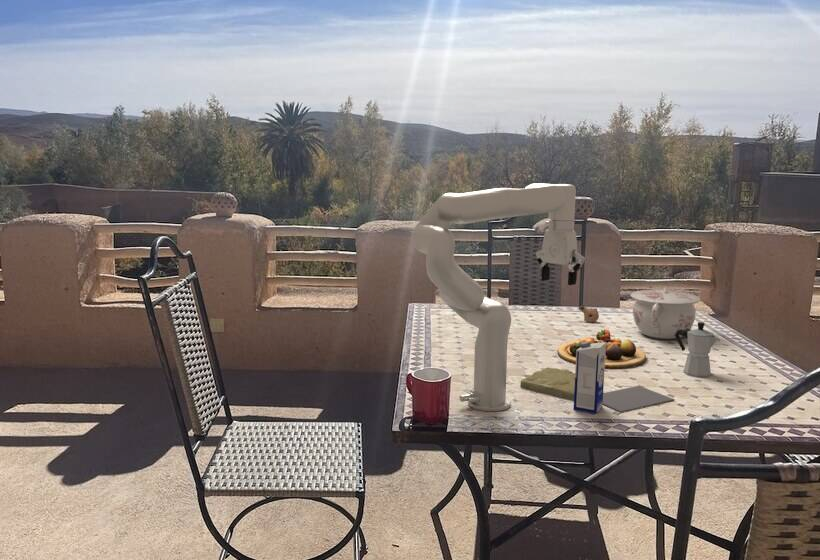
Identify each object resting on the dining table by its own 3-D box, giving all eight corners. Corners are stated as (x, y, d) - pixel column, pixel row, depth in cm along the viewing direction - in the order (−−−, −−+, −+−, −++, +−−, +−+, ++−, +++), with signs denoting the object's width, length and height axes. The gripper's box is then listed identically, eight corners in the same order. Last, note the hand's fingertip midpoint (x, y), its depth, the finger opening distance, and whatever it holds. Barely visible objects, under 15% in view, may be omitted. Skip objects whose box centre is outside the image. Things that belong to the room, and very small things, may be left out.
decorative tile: (577, 402, 203) (577, 391, 203) (519, 388, 216) (519, 378, 215) (602, 387, 217) (603, 376, 217) (547, 374, 230) (547, 364, 229)
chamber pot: (667, 325, 297) (670, 279, 294) (712, 341, 272) (717, 291, 268) (613, 330, 289) (616, 283, 285) (655, 346, 263) (658, 295, 259)
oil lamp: (578, 322, 302) (578, 305, 301) (578, 320, 306) (578, 303, 305) (598, 323, 300) (599, 306, 299) (598, 321, 304) (599, 304, 302)
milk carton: (596, 414, 193) (600, 347, 189) (573, 410, 196) (576, 343, 192) (602, 406, 199) (606, 341, 195) (580, 402, 202) (583, 338, 198)
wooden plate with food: (576, 341, 273) (576, 321, 271) (656, 353, 254) (657, 332, 253) (543, 361, 247) (543, 339, 245) (630, 376, 229) (631, 353, 227)
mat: (620, 412, 194) (620, 411, 194) (587, 397, 206) (587, 396, 206) (674, 400, 204) (674, 399, 204) (639, 386, 216) (639, 385, 216)
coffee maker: (720, 374, 229) (725, 323, 226) (710, 380, 222) (715, 328, 219) (677, 365, 239) (681, 316, 236) (667, 370, 233) (670, 320, 230)
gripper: (530, 224, 204) (527, 279, 207) (578, 229, 191) (575, 288, 194) (545, 223, 208) (543, 277, 211) (593, 227, 196) (590, 285, 199)
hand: (558, 282), depth 203 cm, fingers open, 9 cm apart
